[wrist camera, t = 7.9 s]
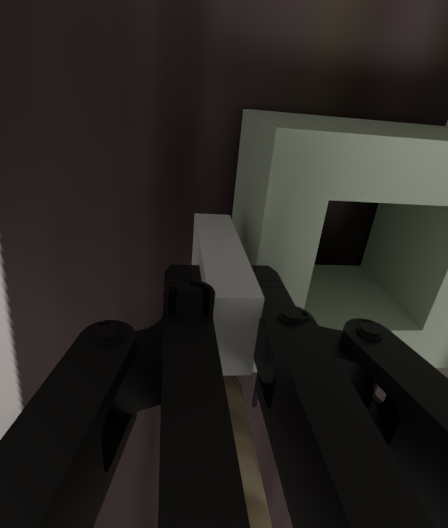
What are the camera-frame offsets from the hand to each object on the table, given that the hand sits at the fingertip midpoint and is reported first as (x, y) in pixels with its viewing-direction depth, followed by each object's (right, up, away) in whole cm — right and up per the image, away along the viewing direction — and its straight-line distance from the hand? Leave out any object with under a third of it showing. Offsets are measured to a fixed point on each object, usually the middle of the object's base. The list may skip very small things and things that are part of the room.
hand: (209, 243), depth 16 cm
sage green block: (+6, +2, +4) cm, 7 cm away
